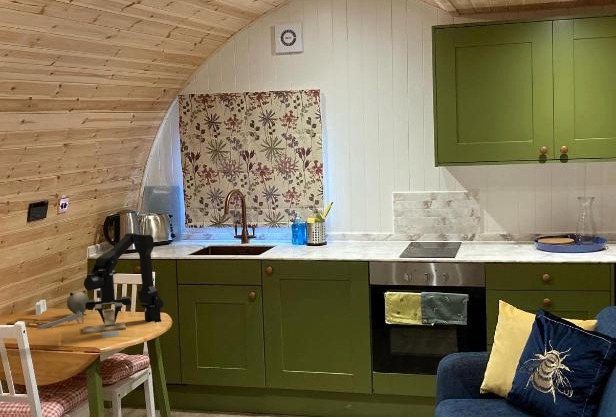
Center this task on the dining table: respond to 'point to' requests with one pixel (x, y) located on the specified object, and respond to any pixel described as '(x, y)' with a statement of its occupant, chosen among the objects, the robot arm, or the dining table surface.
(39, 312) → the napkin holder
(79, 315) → the caliper
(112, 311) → the block
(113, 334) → the mat
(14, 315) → the dining table surface
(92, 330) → the oak board
